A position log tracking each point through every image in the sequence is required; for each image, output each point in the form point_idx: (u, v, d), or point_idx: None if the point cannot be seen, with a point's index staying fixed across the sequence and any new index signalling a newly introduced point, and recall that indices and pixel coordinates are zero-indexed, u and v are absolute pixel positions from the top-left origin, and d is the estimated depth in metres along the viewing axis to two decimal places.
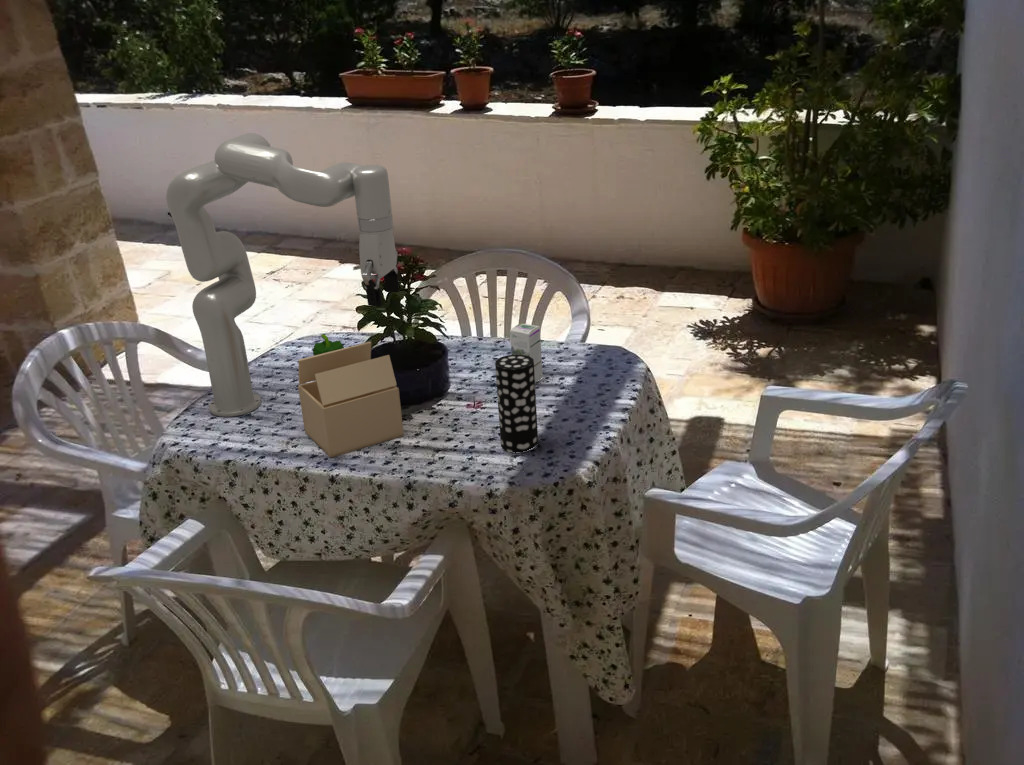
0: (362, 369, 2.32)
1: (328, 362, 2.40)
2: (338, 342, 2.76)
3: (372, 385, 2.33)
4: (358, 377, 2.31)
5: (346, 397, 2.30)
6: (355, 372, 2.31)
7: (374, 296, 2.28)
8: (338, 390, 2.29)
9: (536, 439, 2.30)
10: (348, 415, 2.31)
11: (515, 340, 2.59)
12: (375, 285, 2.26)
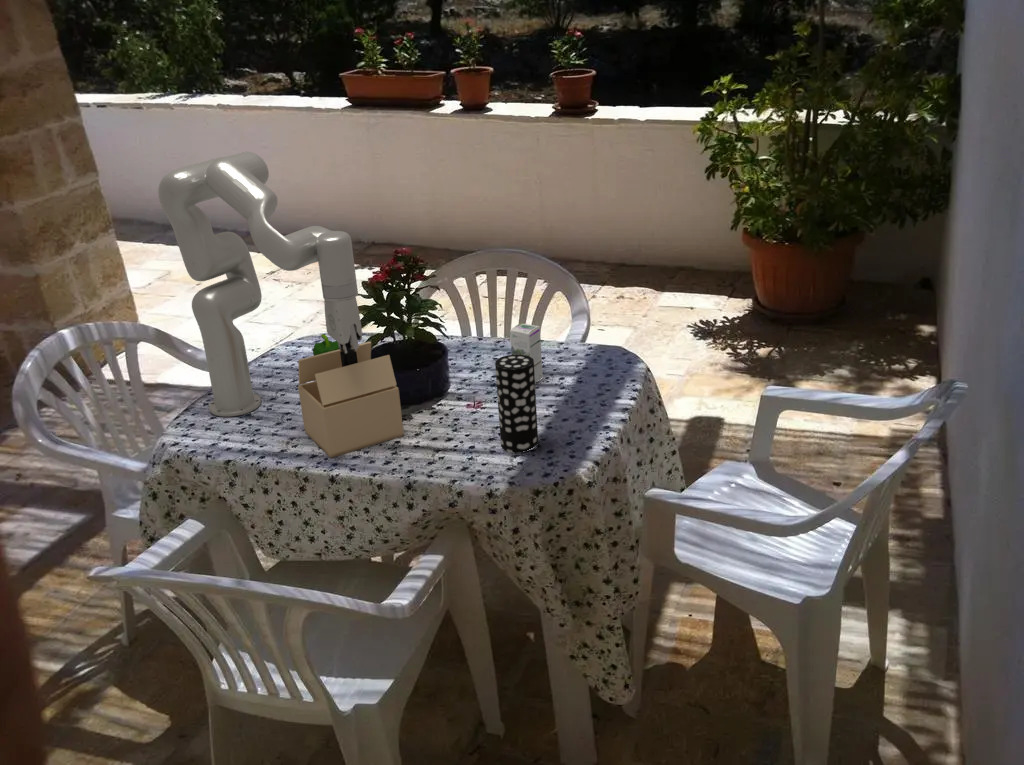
0: (362, 369, 2.32)
1: (328, 362, 2.40)
2: None
3: (372, 385, 2.33)
4: (358, 377, 2.31)
5: (346, 397, 2.30)
6: (355, 372, 2.31)
7: (353, 358, 2.31)
8: (338, 390, 2.29)
9: (536, 439, 2.30)
10: (348, 415, 2.31)
11: (515, 340, 2.59)
12: (355, 349, 2.30)
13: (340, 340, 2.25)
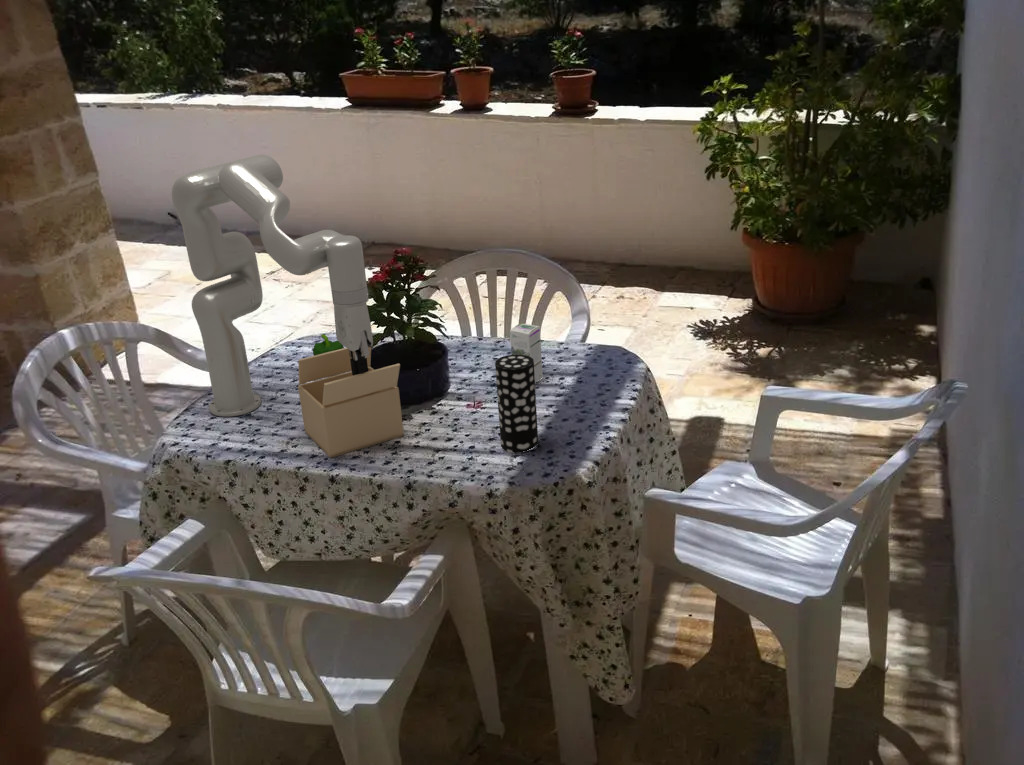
0: (370, 377, 2.28)
1: (328, 362, 2.40)
2: (338, 342, 2.76)
3: (374, 388, 2.32)
4: (364, 383, 2.29)
5: (347, 398, 2.30)
6: (363, 380, 2.28)
7: (364, 365, 2.26)
8: (341, 394, 2.28)
9: (536, 439, 2.30)
10: (348, 415, 2.31)
11: (515, 340, 2.59)
12: (365, 356, 2.25)
13: (350, 347, 2.21)
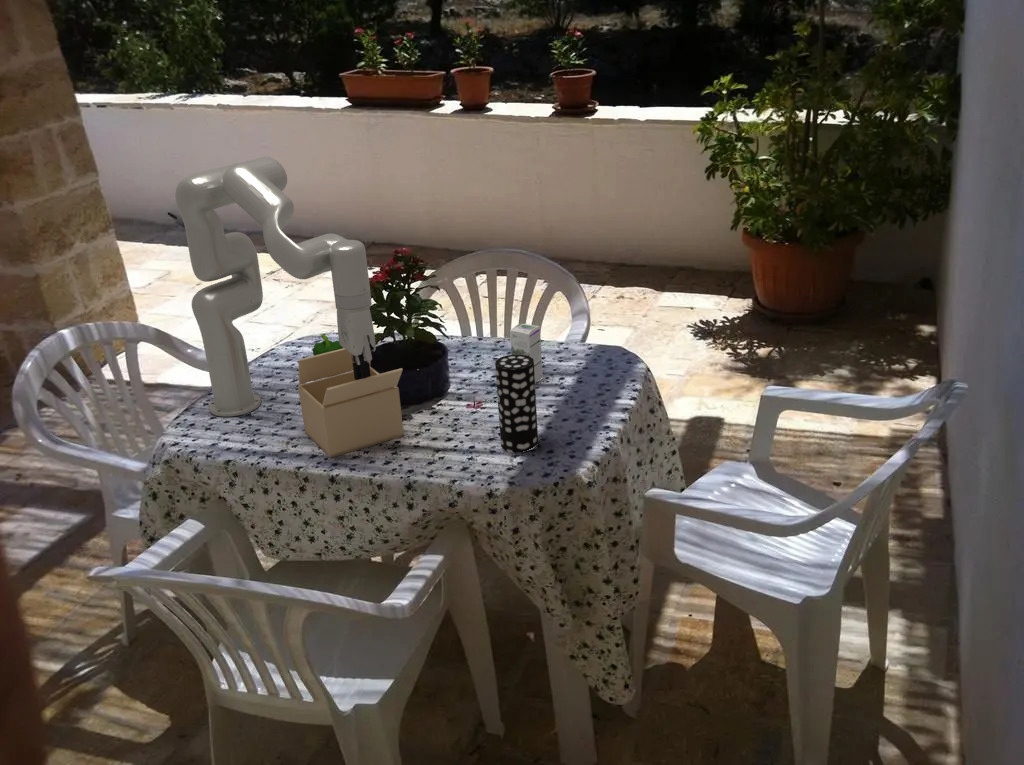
0: (372, 381, 2.28)
1: (328, 362, 2.40)
2: (338, 342, 2.76)
3: (375, 389, 2.32)
4: (366, 386, 2.29)
5: (347, 399, 2.30)
6: (365, 384, 2.27)
7: (366, 370, 2.25)
8: (342, 396, 2.28)
9: (536, 439, 2.30)
10: (348, 415, 2.31)
11: (515, 340, 2.59)
12: (368, 360, 2.25)
13: (353, 351, 2.20)
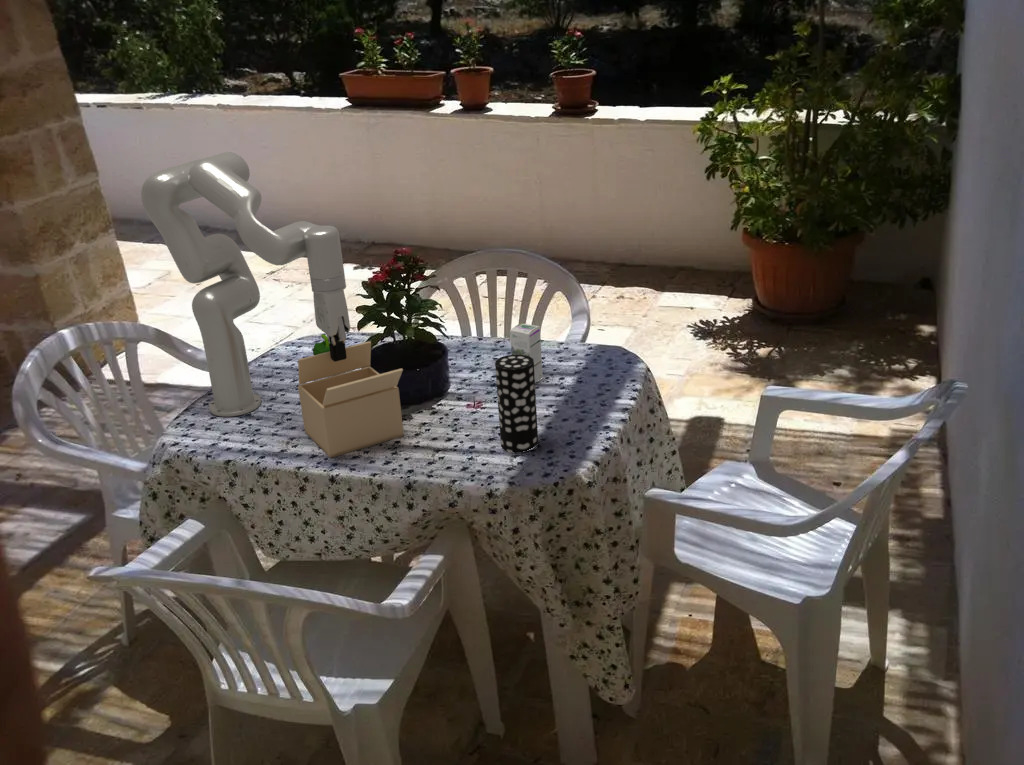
0: (372, 381, 2.28)
1: (328, 362, 2.40)
2: None
3: (375, 389, 2.32)
4: (366, 386, 2.29)
5: (347, 399, 2.30)
6: (365, 384, 2.27)
7: (342, 350, 2.36)
8: (342, 396, 2.28)
9: (536, 439, 2.30)
10: (348, 415, 2.31)
11: (515, 340, 2.59)
12: (343, 341, 2.35)
13: (328, 332, 2.31)
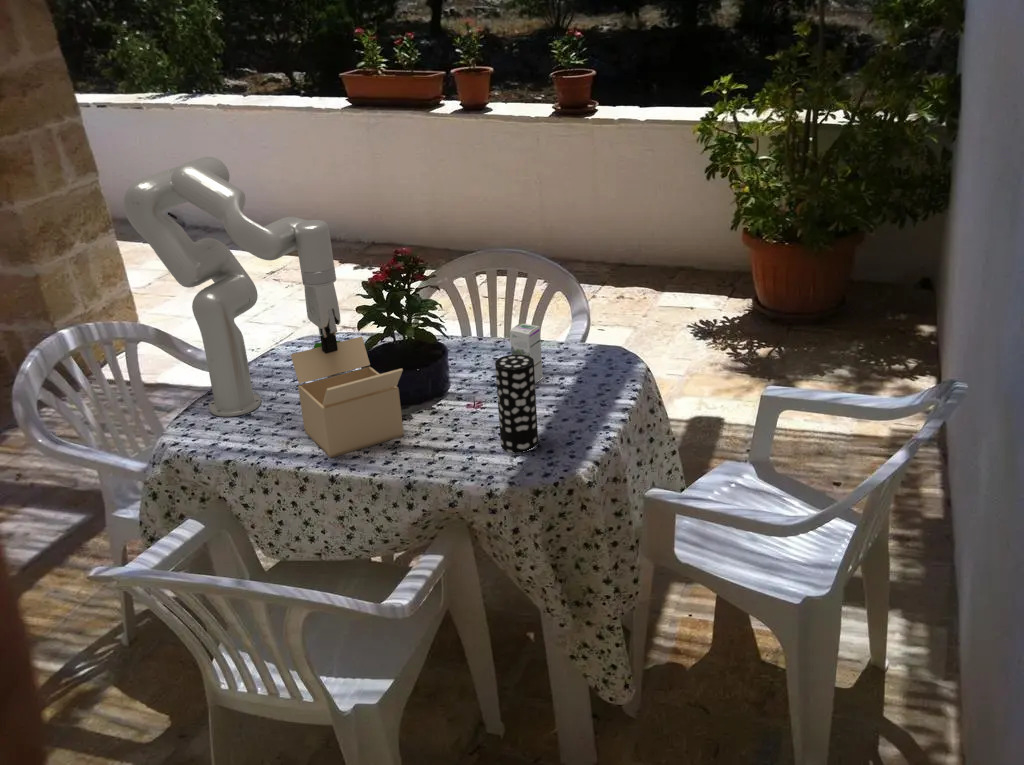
0: (372, 381, 2.28)
1: (323, 357, 2.42)
2: None
3: (375, 389, 2.32)
4: (366, 386, 2.29)
5: (347, 399, 2.30)
6: (365, 384, 2.27)
7: (333, 342, 2.41)
8: (342, 396, 2.28)
9: (536, 439, 2.30)
10: (348, 415, 2.31)
11: (515, 340, 2.59)
12: (334, 333, 2.40)
13: (319, 324, 2.35)
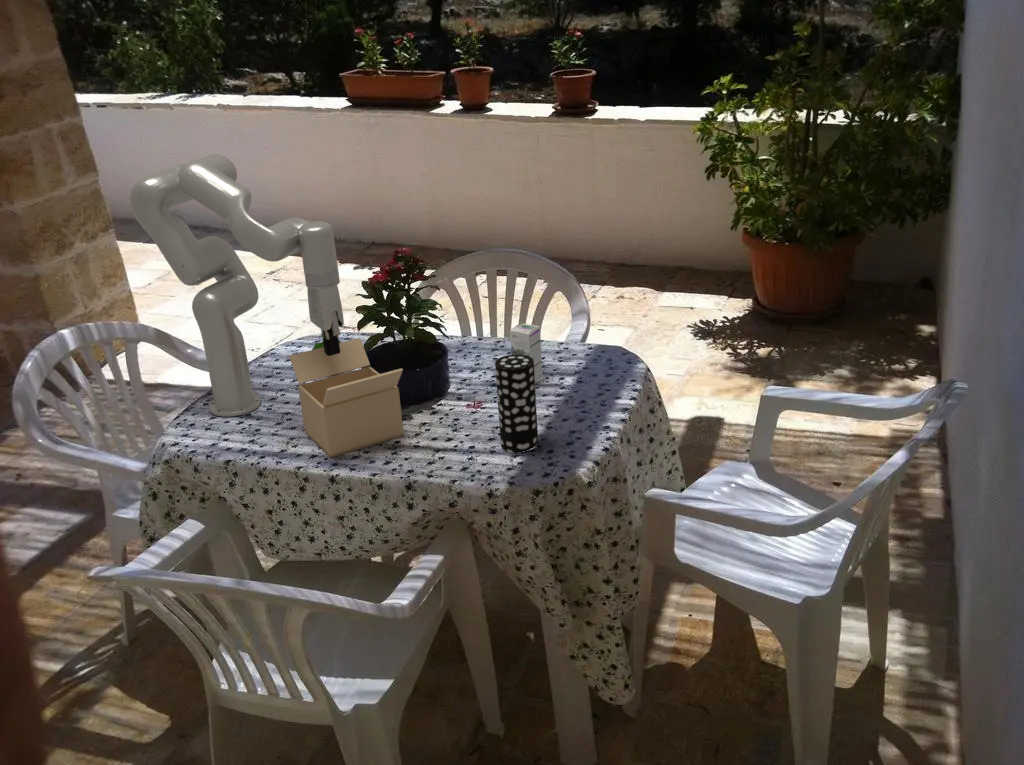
0: (372, 381, 2.28)
1: (321, 358, 2.43)
2: None
3: (375, 389, 2.32)
4: (366, 386, 2.29)
5: (347, 399, 2.30)
6: (365, 384, 2.27)
7: (336, 345, 2.39)
8: (342, 396, 2.28)
9: (536, 439, 2.30)
10: (348, 415, 2.31)
11: (515, 340, 2.59)
12: (337, 336, 2.38)
13: (322, 327, 2.34)
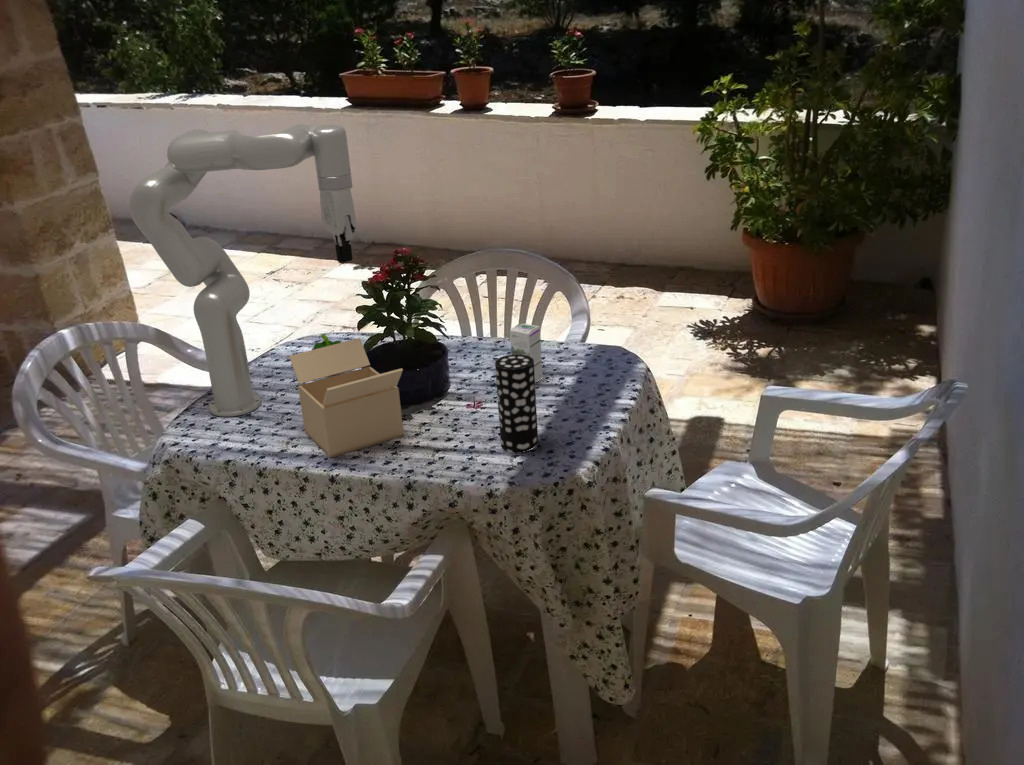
0: (372, 381, 2.28)
1: (321, 358, 2.43)
2: (338, 342, 2.76)
3: (375, 389, 2.32)
4: (366, 386, 2.29)
5: (347, 399, 2.30)
6: (365, 384, 2.27)
7: (348, 251, 2.40)
8: (342, 396, 2.28)
9: (536, 439, 2.30)
10: (348, 415, 2.31)
11: (515, 340, 2.59)
12: (350, 242, 2.39)
13: (335, 231, 2.34)
